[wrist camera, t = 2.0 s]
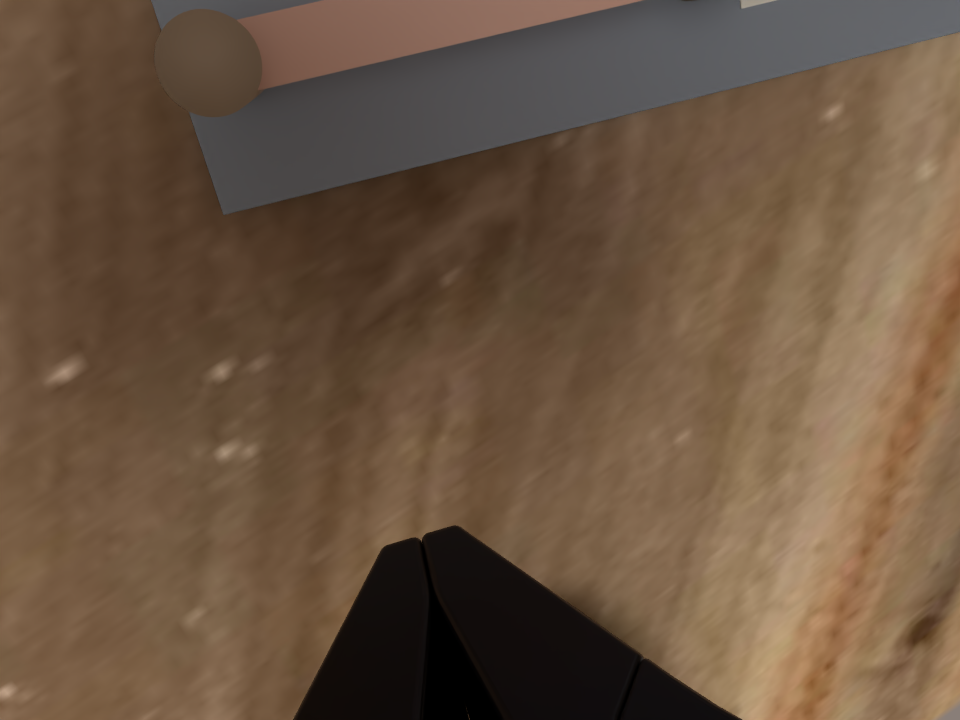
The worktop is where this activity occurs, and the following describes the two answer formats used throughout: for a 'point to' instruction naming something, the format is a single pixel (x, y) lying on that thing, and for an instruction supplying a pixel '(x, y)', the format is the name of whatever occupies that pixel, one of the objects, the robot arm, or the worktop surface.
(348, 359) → the worktop surface
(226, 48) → the terracotta panel
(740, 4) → the mat
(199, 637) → the worktop surface
